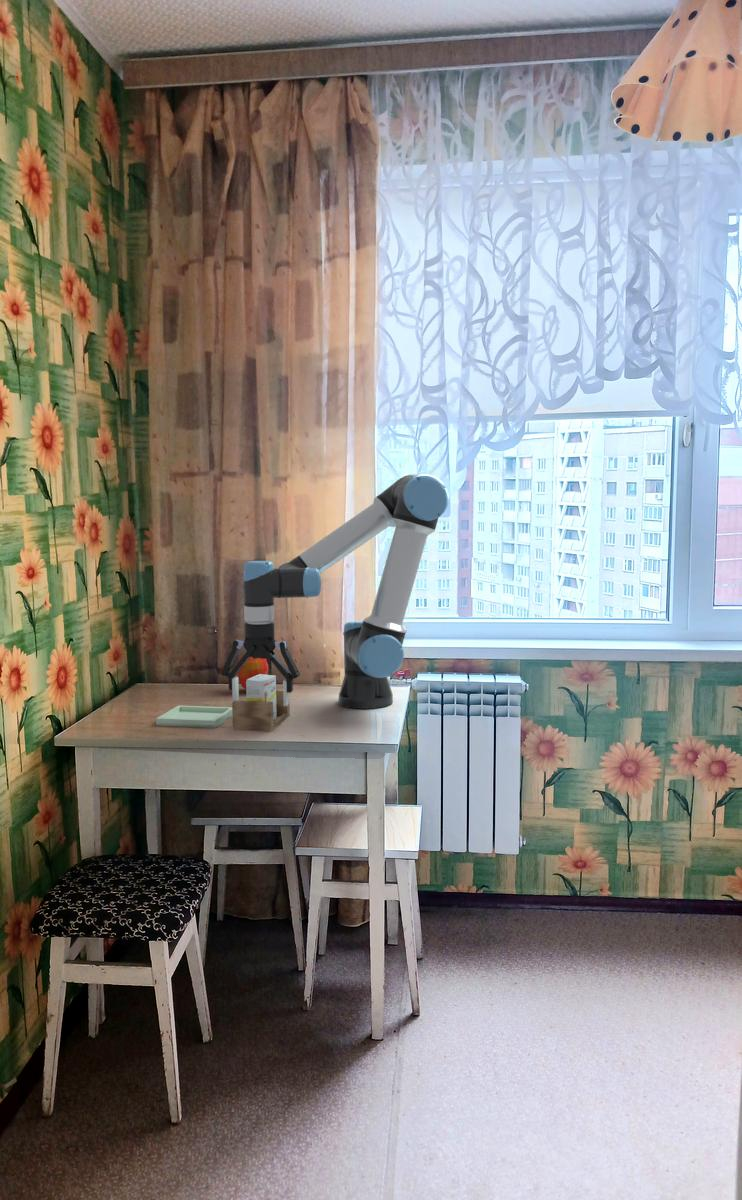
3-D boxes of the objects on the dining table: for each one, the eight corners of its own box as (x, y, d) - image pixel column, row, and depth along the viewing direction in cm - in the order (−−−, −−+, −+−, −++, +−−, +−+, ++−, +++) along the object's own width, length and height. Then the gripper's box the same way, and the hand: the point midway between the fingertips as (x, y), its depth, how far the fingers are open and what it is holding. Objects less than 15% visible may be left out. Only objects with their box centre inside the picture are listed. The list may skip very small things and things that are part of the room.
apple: (233, 694, 268) (232, 653, 266) (243, 687, 276) (242, 648, 275) (263, 695, 266) (262, 654, 264) (272, 688, 275) (271, 649, 273)
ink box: (263, 727, 230) (262, 681, 229) (246, 725, 232) (244, 680, 230) (277, 719, 238) (276, 674, 237) (260, 717, 240) (259, 673, 239)
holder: (289, 715, 242) (289, 689, 241) (271, 731, 226) (270, 703, 226) (253, 713, 244) (253, 688, 243) (232, 729, 228) (232, 702, 228)
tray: (234, 714, 244) (234, 707, 244) (215, 727, 230) (215, 720, 230) (178, 711, 247) (178, 705, 247) (156, 725, 234) (156, 718, 233)
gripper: (310, 621, 233) (311, 702, 236) (218, 618, 238) (220, 698, 241) (302, 625, 226) (303, 709, 228) (207, 622, 231) (209, 704, 233)
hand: (260, 703), depth 235 cm, fingers open, 13 cm apart
